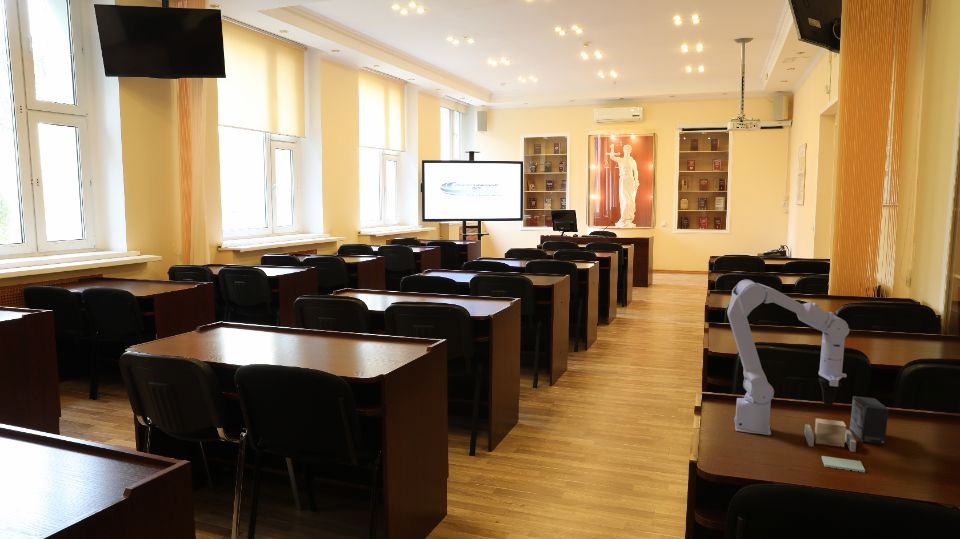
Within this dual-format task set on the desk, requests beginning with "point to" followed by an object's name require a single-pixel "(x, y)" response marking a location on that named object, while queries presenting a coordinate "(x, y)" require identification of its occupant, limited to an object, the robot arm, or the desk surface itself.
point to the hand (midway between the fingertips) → (827, 403)
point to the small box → (868, 420)
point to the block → (830, 432)
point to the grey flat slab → (848, 438)
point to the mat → (843, 464)
